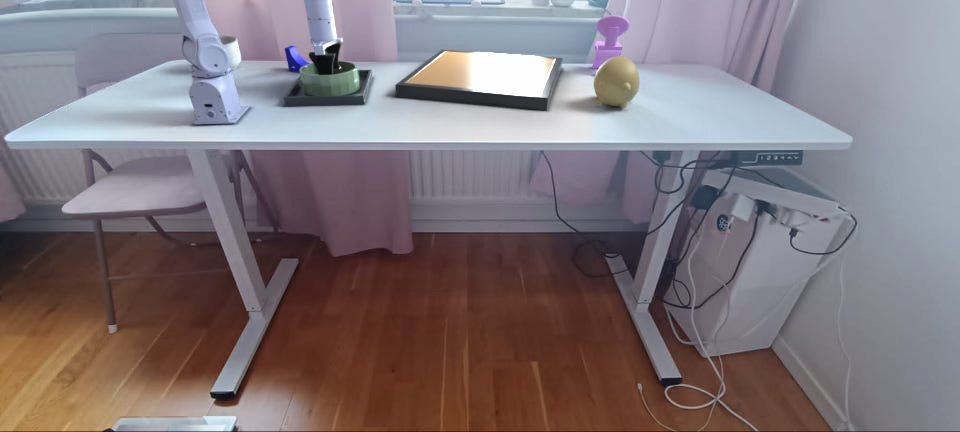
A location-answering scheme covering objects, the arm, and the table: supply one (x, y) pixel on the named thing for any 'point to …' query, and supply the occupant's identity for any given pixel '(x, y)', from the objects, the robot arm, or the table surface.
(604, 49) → the purple tall piece
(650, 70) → the table surface
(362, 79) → the tray
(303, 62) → the blue curved stand
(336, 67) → the black cup
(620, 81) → the toy pig
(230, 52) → the teacup
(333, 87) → the sage bowl
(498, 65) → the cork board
